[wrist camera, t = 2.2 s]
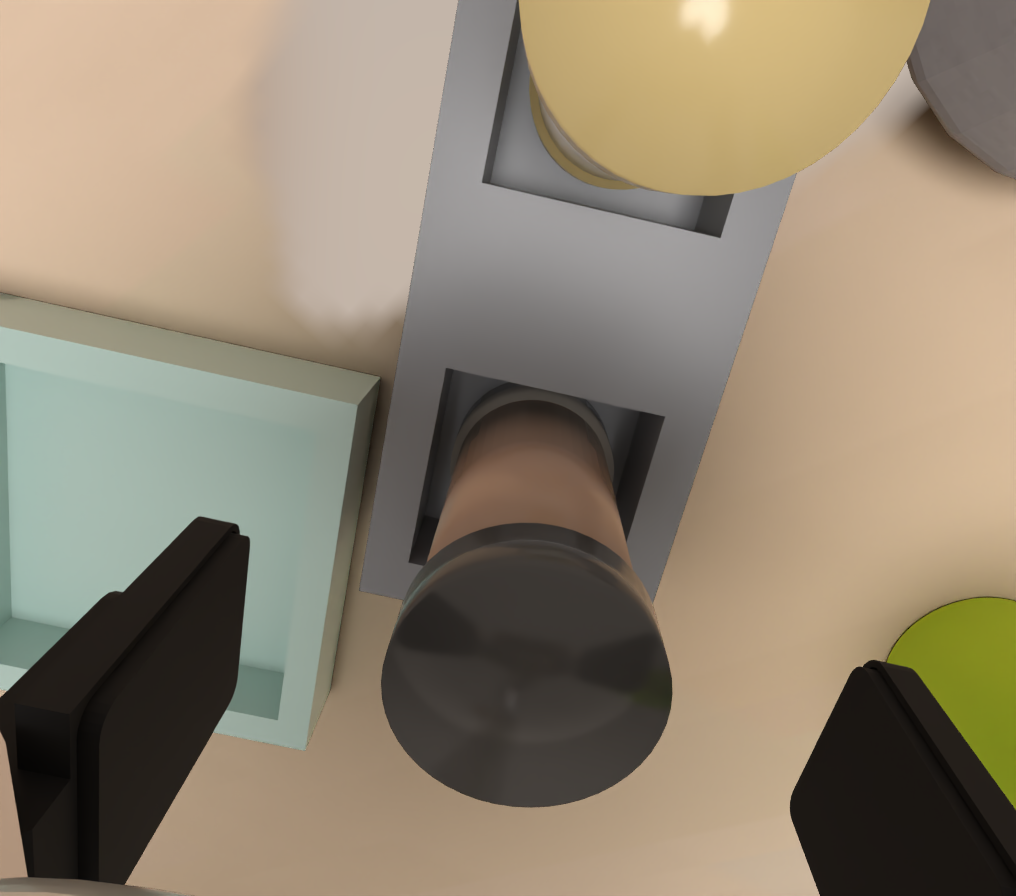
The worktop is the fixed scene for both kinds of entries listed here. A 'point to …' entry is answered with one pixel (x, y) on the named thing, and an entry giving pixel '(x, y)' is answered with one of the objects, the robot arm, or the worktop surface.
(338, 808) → the worktop surface
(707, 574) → the worktop surface
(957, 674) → the soap dispenser
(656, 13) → the fuse
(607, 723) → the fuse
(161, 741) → the robot arm
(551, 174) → the fuse holder
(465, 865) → the worktop surface
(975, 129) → the coffee pot
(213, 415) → the parts tray
